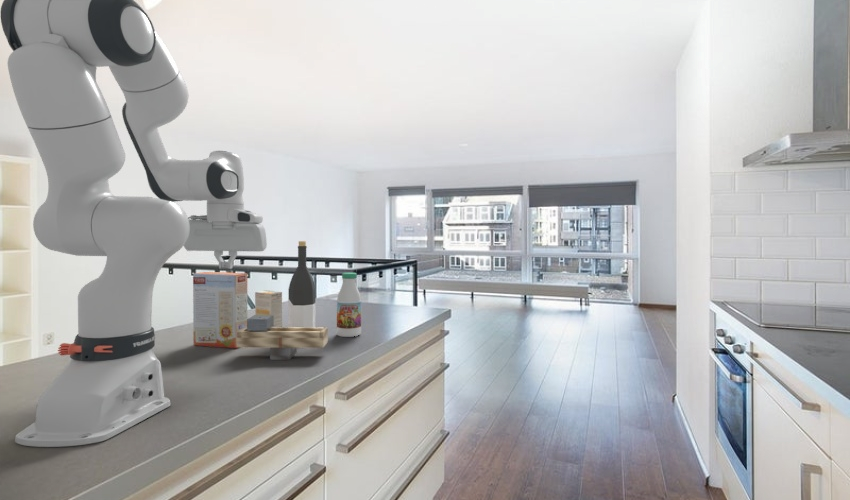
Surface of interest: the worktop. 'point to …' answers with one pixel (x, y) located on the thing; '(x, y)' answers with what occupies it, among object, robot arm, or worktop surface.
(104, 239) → the robot arm
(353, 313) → the milk bottle
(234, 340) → the cracker box
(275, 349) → the beam
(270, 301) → the supplement box
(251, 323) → the block
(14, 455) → the worktop surface
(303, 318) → the wine bottle
